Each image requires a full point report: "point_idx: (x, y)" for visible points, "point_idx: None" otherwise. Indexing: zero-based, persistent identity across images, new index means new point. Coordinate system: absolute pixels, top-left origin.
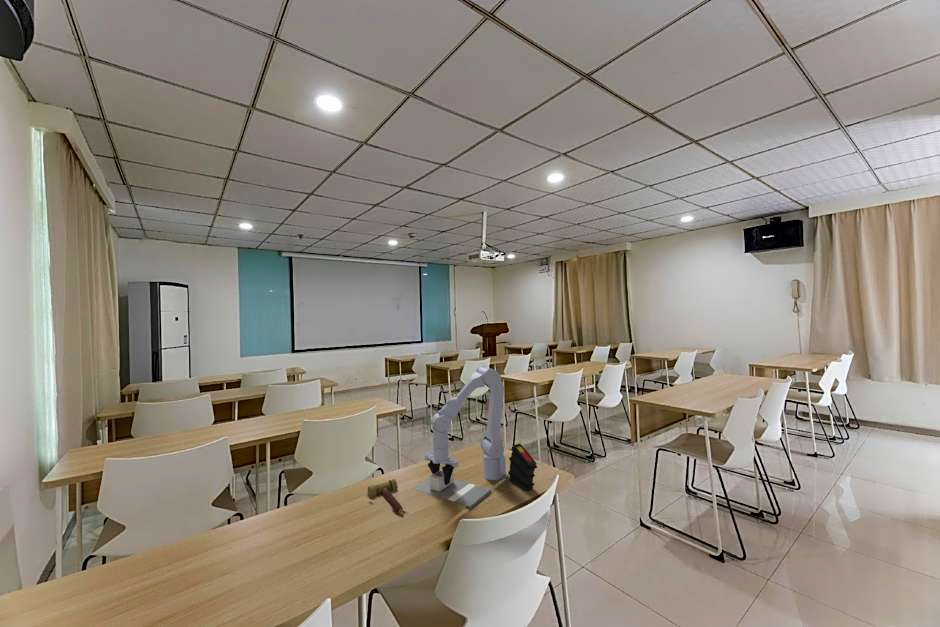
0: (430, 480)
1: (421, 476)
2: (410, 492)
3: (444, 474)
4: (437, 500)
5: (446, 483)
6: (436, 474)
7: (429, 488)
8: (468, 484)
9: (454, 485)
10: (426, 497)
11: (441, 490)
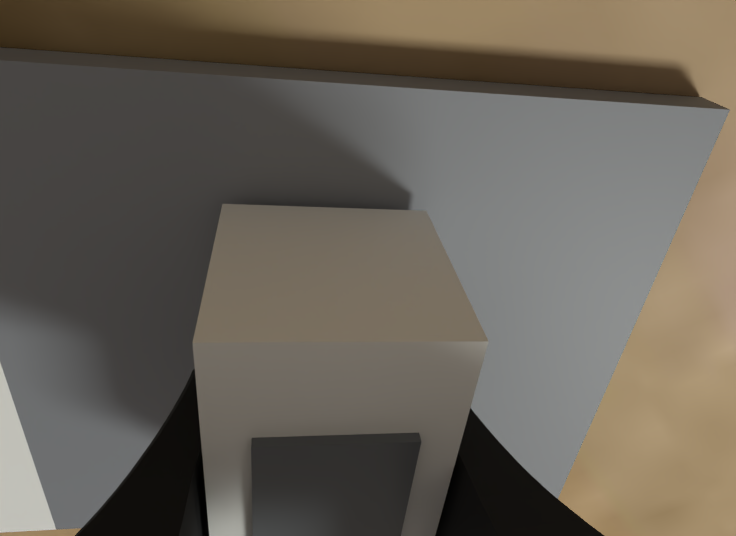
0: (442, 290)
1: (698, 424)
2: (711, 49)
3: (159, 514)
4: (135, 19)
5: (186, 384)
6: (386, 458)
7: (451, 230)
8: (46, 512)
9: None
10: (379, 23)
11: None
